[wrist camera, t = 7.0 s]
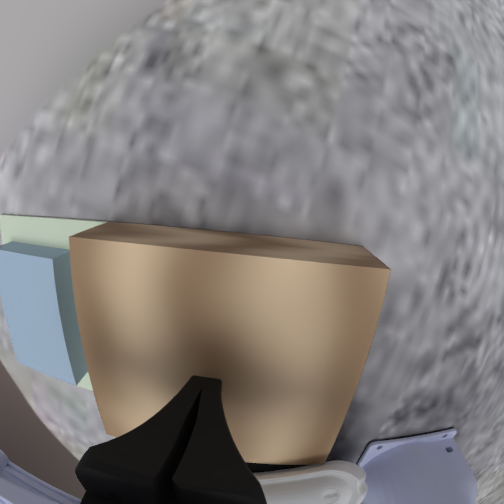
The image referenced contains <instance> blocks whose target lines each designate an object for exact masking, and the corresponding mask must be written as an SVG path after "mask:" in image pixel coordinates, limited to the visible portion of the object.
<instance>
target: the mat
mask: <svg viewBox="0 0 504 504" xmlns="http://www.w3.org/2000/svg"><path fill="white" fill-rule="evenodd" d="M106 222H108V221H95V220H82V219H68V218H53V217H38V216H22V215H5V214H2V215H0V228H1V240H2V245H3V244H6V243H8V242H11V241H13V242H20V243H26V244H33V245H39V246H46V247H53V248H60V249H67V250H70V249H69V236H72V235H74V234H77V233H79V232H82V231H85V230H87V229H90V228H93V227H95V226H98V225H101V224H103V223H106ZM77 386H80V387H82V388H85V389H89V390H92V391H93V388H92V385H91V381H90V377H89V373H88V372H87V373H86V374H85V376H84V377H83V378H82V379H81V381H80V382H79V383H78V384H77Z"/></svg>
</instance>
